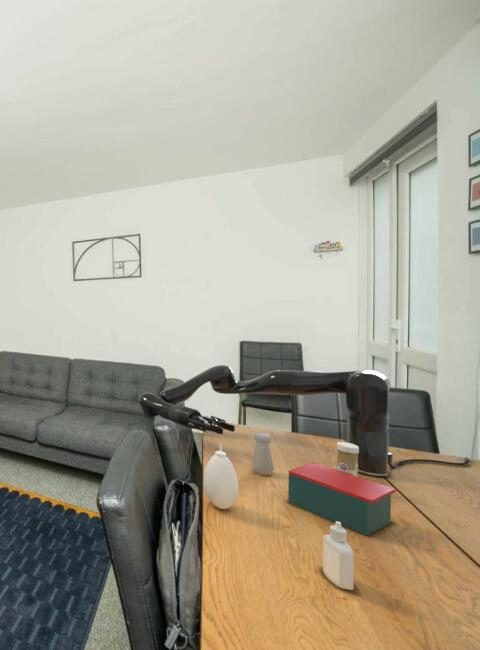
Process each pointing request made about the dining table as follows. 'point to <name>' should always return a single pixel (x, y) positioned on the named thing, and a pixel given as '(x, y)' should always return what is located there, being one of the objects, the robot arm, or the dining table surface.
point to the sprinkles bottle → (347, 458)
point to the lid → (343, 482)
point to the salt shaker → (262, 455)
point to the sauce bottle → (220, 481)
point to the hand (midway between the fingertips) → (228, 430)
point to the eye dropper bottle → (338, 558)
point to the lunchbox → (339, 505)
